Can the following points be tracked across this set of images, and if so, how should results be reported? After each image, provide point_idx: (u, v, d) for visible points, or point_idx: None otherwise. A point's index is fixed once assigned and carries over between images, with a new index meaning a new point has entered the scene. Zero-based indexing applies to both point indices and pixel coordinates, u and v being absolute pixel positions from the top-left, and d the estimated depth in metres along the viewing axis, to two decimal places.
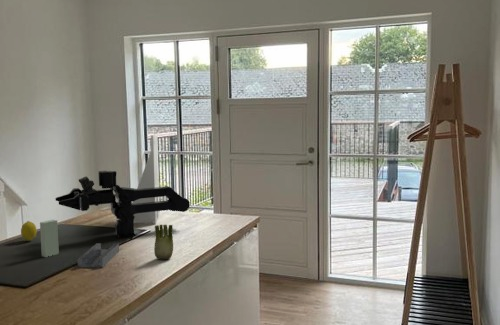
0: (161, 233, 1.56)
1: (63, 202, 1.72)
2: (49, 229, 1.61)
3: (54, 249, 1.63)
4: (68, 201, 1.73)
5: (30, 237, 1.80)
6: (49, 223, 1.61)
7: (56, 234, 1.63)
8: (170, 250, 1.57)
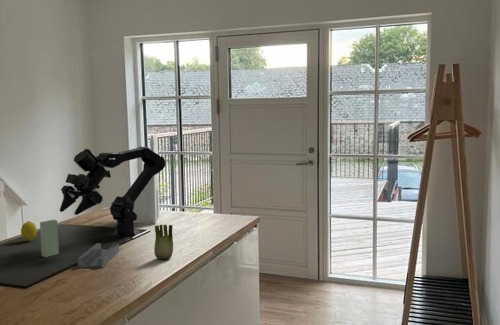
0: (161, 233, 1.56)
1: (78, 210, 1.66)
2: (49, 229, 1.61)
3: (54, 249, 1.63)
4: (81, 206, 1.66)
5: (30, 237, 1.80)
6: (49, 223, 1.61)
7: (56, 234, 1.63)
8: (170, 250, 1.57)
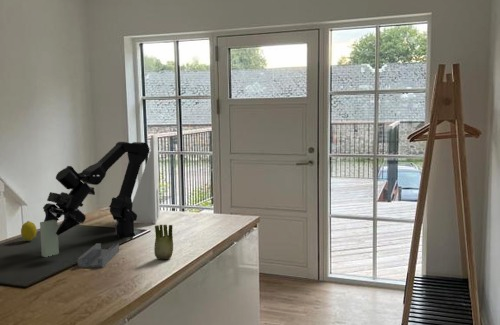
0: (161, 233, 1.56)
1: (60, 230, 1.60)
2: (49, 229, 1.61)
3: (54, 249, 1.63)
4: (63, 226, 1.61)
5: (30, 237, 1.80)
6: (49, 223, 1.61)
7: (56, 234, 1.63)
8: (170, 250, 1.57)
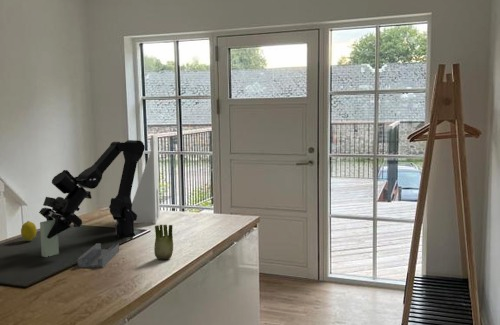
0: (161, 233, 1.56)
1: (51, 234, 1.61)
2: (49, 229, 1.61)
3: (54, 249, 1.63)
4: (54, 229, 1.61)
5: (30, 237, 1.80)
6: (49, 223, 1.61)
7: None
8: (170, 250, 1.57)
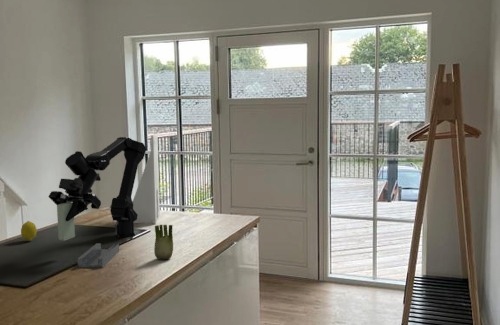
0: (161, 233, 1.56)
1: (70, 216, 1.57)
2: (67, 212, 1.57)
3: (71, 232, 1.59)
4: (72, 211, 1.58)
5: (30, 237, 1.80)
6: (67, 205, 1.57)
7: None
8: (170, 250, 1.57)
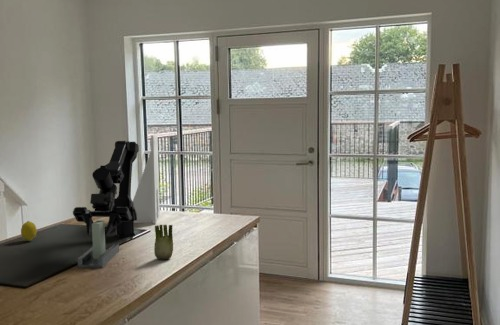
0: (161, 233, 1.56)
1: (108, 231, 1.57)
2: (101, 230, 1.56)
3: (103, 250, 1.58)
4: (110, 226, 1.57)
5: (30, 237, 1.80)
6: (101, 223, 1.56)
7: (104, 234, 1.59)
8: (170, 250, 1.57)
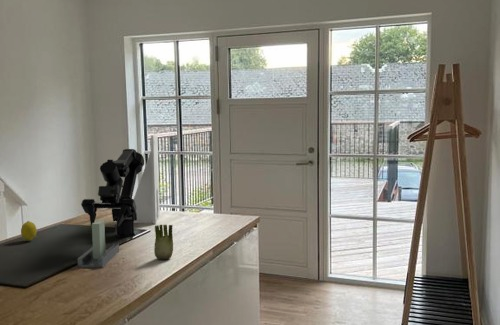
0: (161, 233, 1.56)
1: (120, 221, 1.64)
2: (101, 230, 1.56)
3: (103, 250, 1.58)
4: (122, 217, 1.65)
5: (30, 237, 1.80)
6: (101, 223, 1.56)
7: (104, 234, 1.59)
8: (170, 250, 1.57)
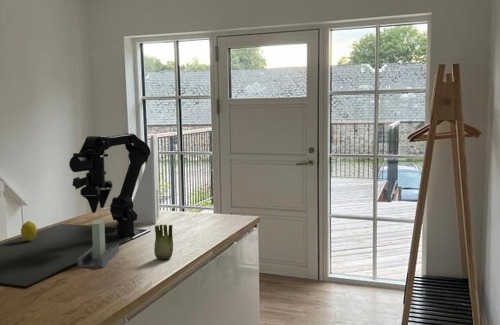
0: (161, 233, 1.56)
1: (92, 208, 1.71)
2: (101, 230, 1.56)
3: (103, 250, 1.58)
4: (91, 204, 1.70)
5: (30, 237, 1.80)
6: (101, 223, 1.56)
7: (104, 234, 1.59)
8: (170, 250, 1.57)
